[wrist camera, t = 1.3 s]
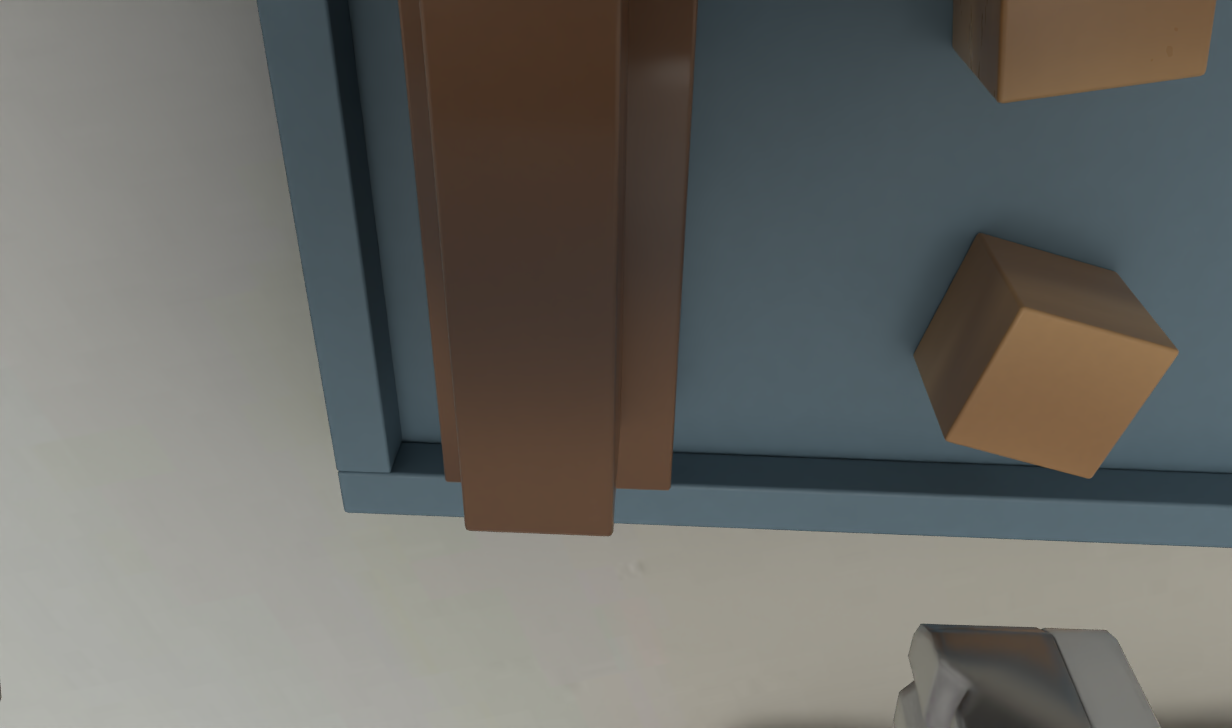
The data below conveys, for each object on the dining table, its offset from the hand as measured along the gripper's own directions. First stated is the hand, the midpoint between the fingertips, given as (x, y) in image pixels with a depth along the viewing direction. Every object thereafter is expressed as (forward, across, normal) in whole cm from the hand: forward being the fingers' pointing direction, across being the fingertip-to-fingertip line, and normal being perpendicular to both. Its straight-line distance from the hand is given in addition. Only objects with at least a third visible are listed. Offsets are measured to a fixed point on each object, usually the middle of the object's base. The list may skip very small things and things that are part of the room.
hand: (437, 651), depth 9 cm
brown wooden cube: (+11, -9, +3) cm, 15 cm away
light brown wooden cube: (+11, -8, -4) cm, 14 cm away
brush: (+12, 0, 0) cm, 12 cm away
